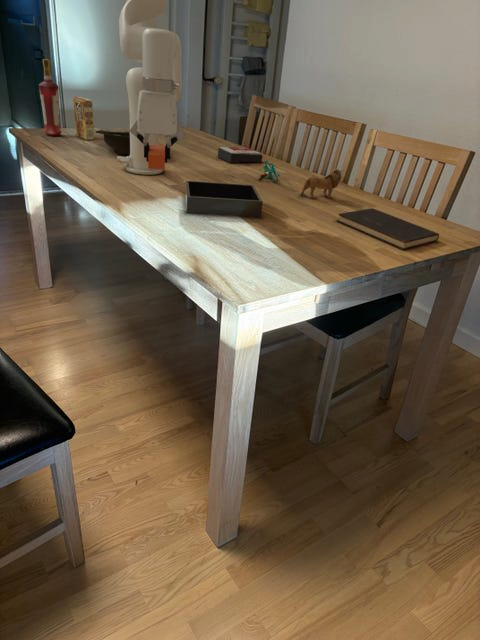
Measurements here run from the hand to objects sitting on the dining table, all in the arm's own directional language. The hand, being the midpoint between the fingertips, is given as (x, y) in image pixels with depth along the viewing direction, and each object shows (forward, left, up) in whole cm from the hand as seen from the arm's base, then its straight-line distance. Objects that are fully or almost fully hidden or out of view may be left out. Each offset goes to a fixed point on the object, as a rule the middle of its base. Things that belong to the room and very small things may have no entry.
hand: (157, 160), depth 128 cm
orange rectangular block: (0, 0, -1) cm, 1 cm away
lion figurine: (+53, +18, -12) cm, 57 cm away
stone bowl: (-13, +66, -12) cm, 69 cm away
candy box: (-32, +85, -12) cm, 92 cm away
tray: (+18, 0, -12) cm, 22 cm away
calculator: (+32, +65, -12) cm, 74 cm away
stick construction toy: (+38, +36, -12) cm, 54 cm away
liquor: (-45, +85, -12) cm, 97 cm away
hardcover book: (+64, -13, -12) cm, 66 cm away
